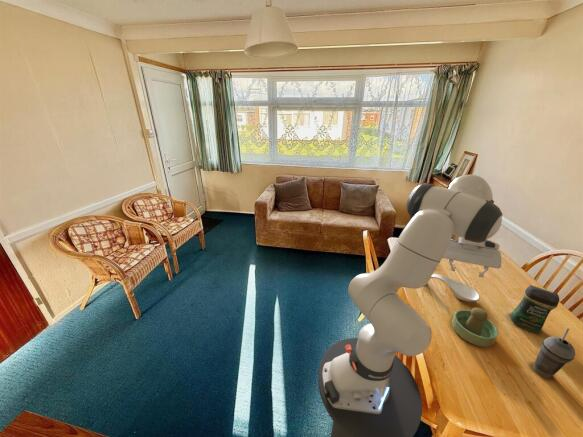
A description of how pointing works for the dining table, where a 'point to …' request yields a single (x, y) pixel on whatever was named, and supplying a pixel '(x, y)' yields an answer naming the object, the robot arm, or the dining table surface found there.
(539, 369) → the beverage cup
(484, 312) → the brown peanut shape
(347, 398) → the robot arm
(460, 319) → the bowl
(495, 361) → the dining table surface
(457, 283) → the spoon rest
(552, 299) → the coffee jar
